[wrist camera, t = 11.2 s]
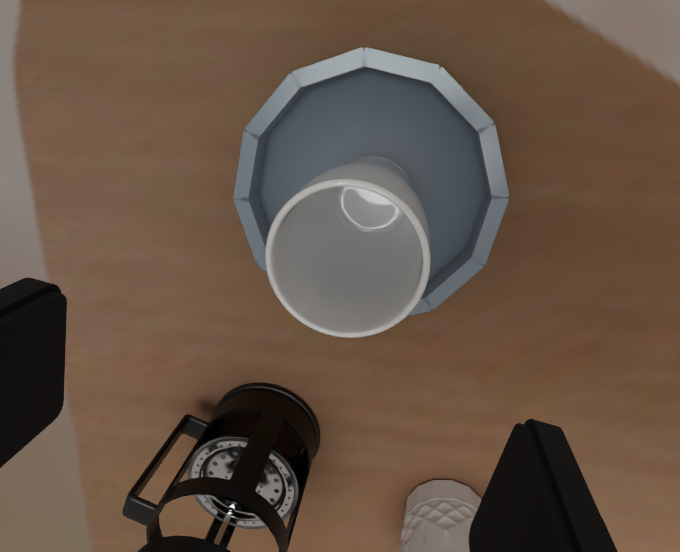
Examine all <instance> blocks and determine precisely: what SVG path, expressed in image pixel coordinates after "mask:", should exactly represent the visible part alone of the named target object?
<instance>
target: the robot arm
mask: <svg viewBox="0 0 680 552" xmlns="http://www.w3.org/2000/svg"><path fill="white" fill-rule="evenodd" d="M66 310H67V300H66V297H65V296H64V295H63V294H61V290H60V288H59V287H58V286H57V285H54V284H51V283H47V282H44V281H40V280H37V279H33V278H24V279H21V280H19V281H17V282H15V283H13V284H11V285H8V286H6V287H4V288H2V289H0V468H1V467H2V466H3V465H4V464H5V463H6V462H7V461H8V460H10V459H11V458H12V457H13V456H14V455H15V454H17V453H18V452H19V451H20V450H21V449H22V448H23V447H24V446H26V445H27V444H28V443H29V442H30V441H31V440H32V439H33V438H35V437H36V436H37V435H38V434H39V433H40V432H41V431H43V429H45V428H46V427H47V426H48V425H49V424H51V423H52V422H53V421H54V420H55V419H56V418H57V416H58V415H59V413H60V411H61V409H62V406H63V401H64V372H65V341H66ZM469 550H470V552H617V550H616V547H615V545H614V543H613V541H612V538H611V536H610V534H609V532H608V530H607V527H606V525H605V523H604V521H603V519H602V517H601V515H600V513H599V511H598V509H597V507H596V504H595V502H594V500H593V498H592V495H591V493H590V491H589V489H588V486H587V484H586V482H585V480H584V477H583V475H582V473H581V471H580V468H579V466H578V464H577V462H576V459H575V457H574V455H573V453H572V451H571V448H570V446H569V444H568V442H567V439H566V437H565V435H564V433H563V431H562V429H561V428H560V427H558V426H554V425H551V424H547V423H544V422H540V421H537V420H533V419H529V420H527V421H526V422H525V424H524V425H523V424H520V423H518V424H516V425H515V426H514V428H513V430H512V432H511V435H510V437H509V439H508V441H507V444H506V446H505V448H504V450H503V453H502V455H501V457H500V460H499V462H498V464H497V466H496V469H495V471H494V473H493V475H492V478H491V480H490V482H489V485H488V487H487V489H486V491H485V494H484V496H483V498H482V500H481V503H480V505H479V507H478V510H477V512H476V514H475V516H474V519H473V521H472V523H471V527H470V531H469Z"/></svg>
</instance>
